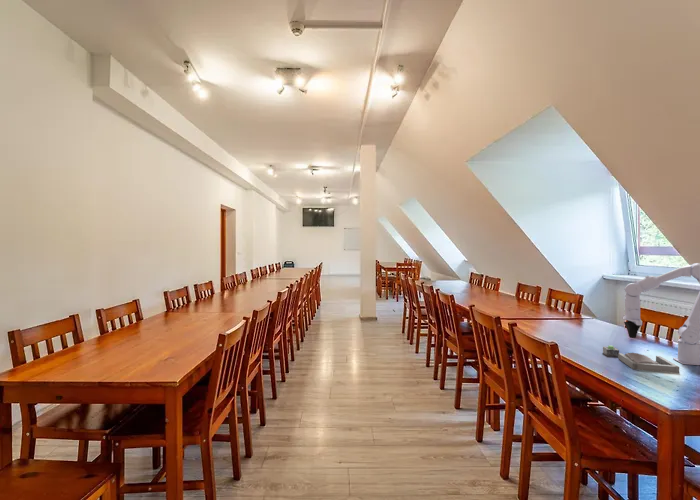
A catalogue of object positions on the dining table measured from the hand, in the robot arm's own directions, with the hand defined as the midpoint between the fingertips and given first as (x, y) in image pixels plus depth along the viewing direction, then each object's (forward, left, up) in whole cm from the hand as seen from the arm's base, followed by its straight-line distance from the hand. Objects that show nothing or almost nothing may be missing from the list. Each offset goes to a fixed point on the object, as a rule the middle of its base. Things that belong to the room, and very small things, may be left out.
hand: (632, 337), depth 179 cm
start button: (+9, +2, -8) cm, 13 cm away
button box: (+9, +2, -8) cm, 13 cm away
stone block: (+2, +16, -9) cm, 18 cm away
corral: (+1, +16, -8) cm, 18 cm away
